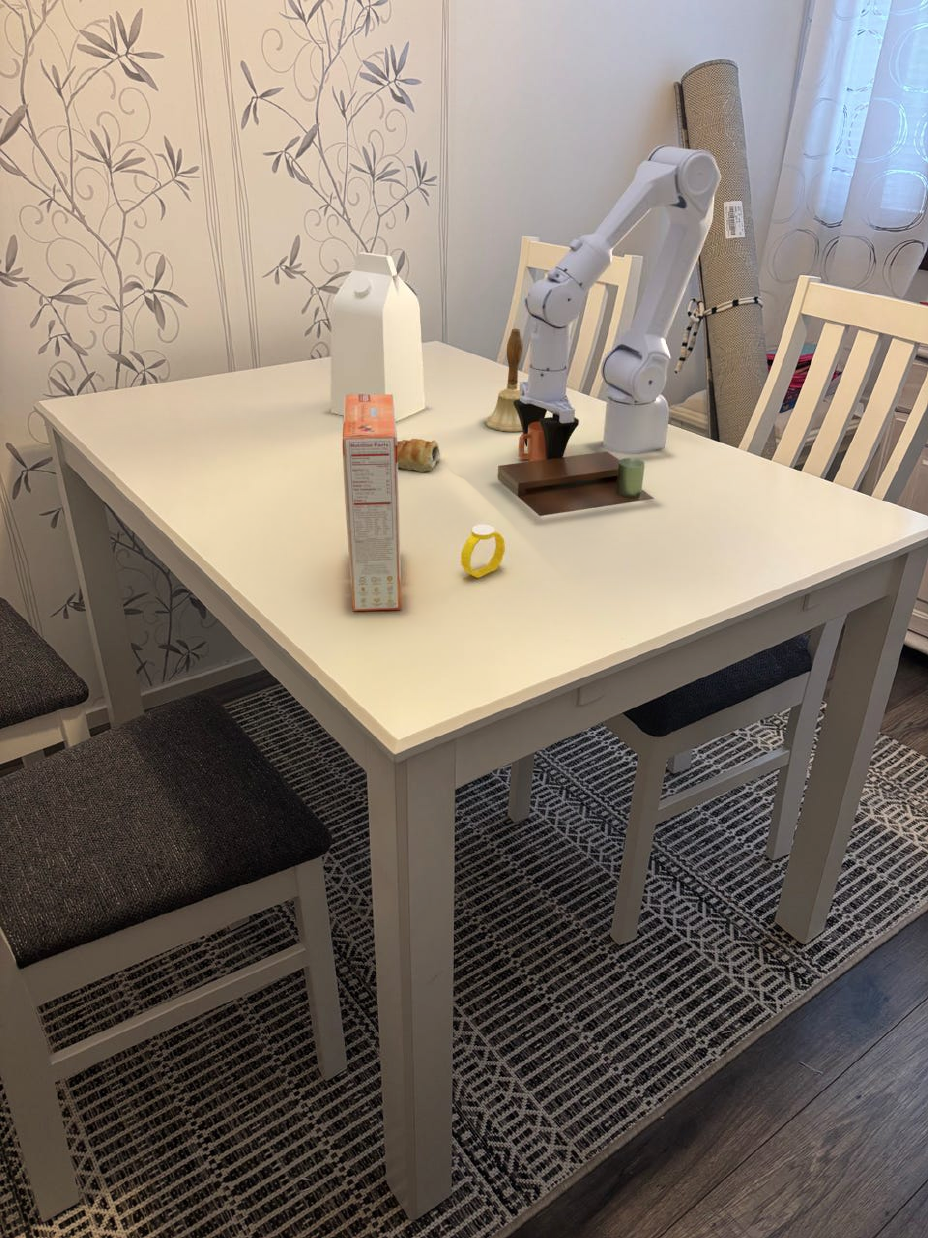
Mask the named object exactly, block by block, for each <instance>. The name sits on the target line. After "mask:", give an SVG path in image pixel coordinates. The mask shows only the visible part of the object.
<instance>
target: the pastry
mask: <svg viewBox="0 0 928 1238" xmlns="http://www.w3.org/2000/svg"><path fill="white" fill-rule="evenodd" d="M397 448H398V469H402V470H407V471H412V470H414V471H416V472H430V471H432V470H433V469H434V468H435V465H436V462H438V461H439V460H440V458H441V453H440V446H439V444H438V442H437V441H436V440H432V441H428V440H424V439H418V438H411V439H410V440H407V439H402V440H399V441H398V440H397Z"/></svg>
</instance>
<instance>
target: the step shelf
mask: <svg viewBox="0 0 928 1238" xmlns="http://www.w3.org/2000/svg"><path fill="white" fill-rule="evenodd" d="M620 460H621V459H619V458H617V457H616V456H614V455H613V454H611V453H610V452H609V451H600V452H591V453H584V454H577V455H570V456H563V457H561V458H553V459H546V460H538V461H524V462H515V463H509V464H502V465H501V464H500V465H498V466H497V480H498V481H499V482H500V483H501V484H503V485H504V486H505V487H506V488H507V489H508V490H509V491H511V493H512V494H514V495H515V496H516V497H517V498H519V499H520V500H521V501H522V502H523V503H524V504H526V506H528V507H529V508H530V509H531V510H532V511H533V512H534V513H535V514H537V516H539V517H542V516H550V515H557V514H562V513H571V512H575V511H582V510H583V511H584V510H589V509H595V508H596V509H597V508H601V507H608V506H615V505H621V504H628V503H634V502H640V501H641V502H642V501H647V500H654V499H655V497H653V496H652V495H650V494H649V493H648V492H646V491H645V490H643V489H642V491H641V495H640V496H638V497H623V496H620V495H618V494H617V493H616V484H617V475H618V465H619V461H620Z"/></svg>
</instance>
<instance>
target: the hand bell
mask: <svg viewBox="0 0 928 1238" xmlns="http://www.w3.org/2000/svg"><path fill="white" fill-rule="evenodd" d="M523 345H524V343H523V339H522V336H521V330H520V329H519V328H512V329H511V332H510V335H509V338H508V340H507V346H506V359H507V364H508V374H507V383H506V388H505V389H502V390H500V391H499V392H498V395H497V401H496V405H495V408H494V410H493V411H492V413H491V414H490V415H489V416H488V417H487V418H486V420H485V424H486V426H487V427H489V428H491V429H493V430H495V431H501V432H509V433H515V432H517V433H519V432H523V431H522V426H521V422H520V418H519V415H518V413H517V410H516V408H515V406H514V401H515V400H520V396H521V395H520V394H519V393H520V389H519V388H518V383H519V382H518V381H519V367H520V363H521V361H522V357H523Z"/></svg>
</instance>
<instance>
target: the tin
mask: <svg viewBox="0 0 928 1238" xmlns="http://www.w3.org/2000/svg"><path fill="white" fill-rule="evenodd" d="M619 460H620V461H619V465H618V475H617V484H616V493H617V494H618V495H620V496H623V497H638V496H640V495H641V491H642V490H643V483H644V474H645V466H646V464H645V462H644V461H643V460H641V459H639V458H633V457H631V458H630V457H627V458H621V459H619Z"/></svg>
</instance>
